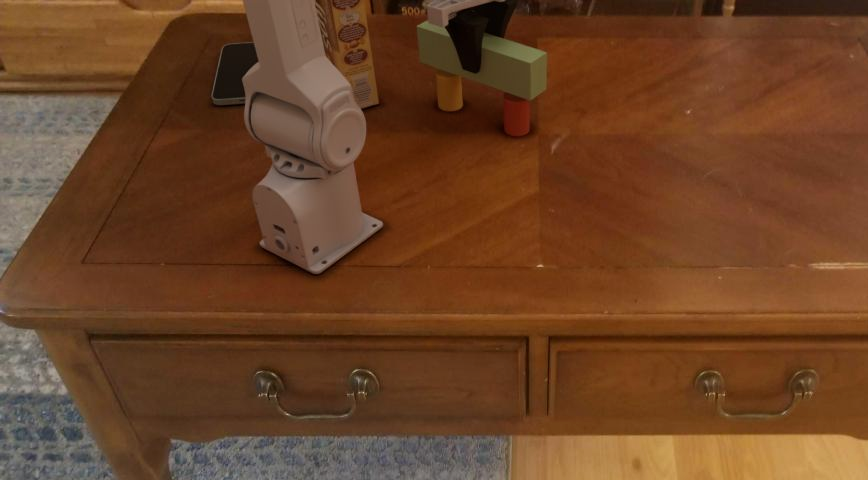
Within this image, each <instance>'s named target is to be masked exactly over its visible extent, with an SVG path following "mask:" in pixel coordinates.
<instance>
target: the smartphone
mask: <svg viewBox="0 0 868 480" xmlns="http://www.w3.org/2000/svg"><path fill="white" fill-rule="evenodd" d="M258 62H259V60H258V57H257V53H256V49H255V45H254V42H253V41H247V42H235V43H233V42H232V43H226V44H225V45H223V46H222V47H221V50H220V55H219V60H218V64H217V68H216V73H215V78H214V83H213V86H212V91H211V100H212V103H213V105H216V106H228V105H229V106H230V105H242V104H243V105H244V104H245V101H246V96H245V89H244V85H243V82H242V78H243V77H244V76H245V74H246V73H247V72H248V71H249V70H250V69H251V68H252V67H253V66H254V65H255V64H256V63H258Z"/></svg>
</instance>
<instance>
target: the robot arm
mask: <svg viewBox="0 0 868 480" xmlns="http://www.w3.org/2000/svg"><path fill="white" fill-rule="evenodd" d="M518 2H519V1H518V0H433V1H431V2H430V3H429V4H427V5H426V11H427V20H428V23H430V24H433V25H436V26H439V27H445V29H446V30H447V32H448V34H449V35H450V37H451V39H452V41H453V44H454V46H455V49H456V51H457V54H458V57H459V60H460V63H461V66H462V69H463V70H466V71H469V72H471V73H474V74H477V73H478V72H479V71H480V66H481V53H482V40H483V35H484V33H487V34H491V35H494V36H497V37H500V38H503V39H505V36H506V32H507V29H508V26H509V23H510V20H511V19H512V16H513V14H514V12H515V10H516V9H517V7H518V5H519V3H518ZM242 3H243V7H244V11H245V16H246V19H247V23H248V27H249V30H250V34H251V38H252V42H254V45H255V49H256V53H257V57H258V60H259V62H258V63H256V64H255V65H254V66H253V67H252V68H251V69H250V70H249V71H248V72H247V73H246V74H245V76H244V77H243V78H242V82H243V85H244V89H245V96H246V101H245V103H244V111H243V119H244V125H245V129H246V130H247V133H248V134H249V135H250V137H251V138H252V139H253V140H254V141H256V142H258V143H260V144H263V145H264V148H265V153H266V156H267V157H268V158H270V159H271V161H272V164H271V166H270V168H269V169H268V172H267V173H266V175H265V176H264V177H263V178H262V179H261V180H260V181H259V182H258V183H257V184H256V185H255V186H254V187H253V189H252V193H251V196H252V197H251V198H252V203H253V207H254V210H255V214H256V218H257V221H258V225H259V228H260V232H261V236H262V239H261V240H260V241H259V246H260V248H262V249H264V250H266V251H267V252H270V253H272V254H274V255H276V256H278V257H280V258H282V259H284V260H286V261H288V262H290V263H291V264H294V265H296V266H298V267H300V268H302V269H303V270H305V271H307V272H309V273H311V274H313V275H320V274H321V273H323V272H324V271H325V270H326V269H328V268H330V267H331V266H332V265H333V264H335V263H336V262H338V261H339V260H340V259H342V258H343V257H344V256H345V255H347V254H349V253H350V252H351V251H352V250H354V249H355V248H356V247H358V246H359V245H361V244H362V243H363V242H365V241H366V240H368V239H369V238H370V237H372V235H374V234H376V232H378V231H380V230H381V229H382V228H383V227H384V223H383V221H382V220H381V219H378V218H375V217H373V216H371V215H369V214H366V213H364V212H363V211H362V210H363V209H362V204H361V198H360V192H359V186H358V181H357V175H356V168H355V163H354V162H355V161H356V160H357V159H358V158H359V155H360V154H361V152H362V150H363V148H364V145H365V143H366V138H367V121H366V117H365V114H364V112H363V110H362V109H360V107H359V106H358V105H357V104H356V102H355V100H354V97H353V93H352V88H351V85H350V83H349V82H348V81H347V80H346V78H345V77H344V76H343V75H342V74H341V73H340V72H339V71H338V70H337V68H336V67H335V66H334V65H333V64H332V63H331V62H330V61H329V60H328V58H327V57H326V55H325V51H324V46H323V41H322V36H321V31H320V26H319V21H318V16H317V11H316V7H315V2H314V0H242Z"/></svg>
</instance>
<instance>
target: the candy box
mask: <svg viewBox="0 0 868 480" xmlns="http://www.w3.org/2000/svg"><path fill="white" fill-rule="evenodd" d="M314 2H315V7H316V11H317V16H318V21H319V26H320V31H321V36H322V41H323V46H324V51H325V55H326V57H327V58H328V60H329V61H330V62H331V63H332V64H333V65H334V66H335V67H336V68H337V70H338V71H339V72H340V73H341V74H342V75H343V76H344V77H345V78H346V80H347V81H348V82H349V83H350V85H351V88H352V93H353V97H354V100H355V102H356V104H357V105H358V106H359V107H360V109H361V110H362V109H365V108H366V109H367V108H369V107H372V106H376V105H379V103H380V99H379V94H378V93H379V92H378V87H377V81H376V80H377V79H376V73H375V66H374V59H373V53H372V47H371V40H370V33H369V32H370V31H369V27H368V25H369V24H368V19H367V18H368V17H367V12H366V5H365V0H314Z"/></svg>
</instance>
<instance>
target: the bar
mask: <svg viewBox="0 0 868 480" xmlns="http://www.w3.org/2000/svg"><path fill="white" fill-rule="evenodd" d="M416 35H417V45H418V56H419V63H421V64H423V65H424V64H425V65H427V66H430V67H433V68H436V69H441V70H444V71H447V72H450V73H452V74H455V75H458V76H461V78H464V79H467V80H470V81H473V82H476V83H479V84H482V85H484V86H487V87H490V88H493V89H496V90H498V91H501V92H504V93H505V92H507V93H510V94H513V95H516V96H519V97H522V98H524V99H527V100H530V102H531V101H532V100H534V99H535V98H536V97H538V96H539V95H540V94H542V93H543V92H545V91H546V90H547V85H548V83H547V82H548V81H547V77H548V76H547V75H548V72H547V70H548V52H547V51H544V50H541V49H538V48H534V47H532V46H528V45H525V44H523V43H518V42H516V41H513V40H509V39H506V38H504V39H503V38H500V37H497V36H494V35H491V34H487V33H484V35H483V40H482V53H481V66H480V71H479V72H478V73H477V74H474V73H471V72H469V71H466V70H463V69H462V66H461V63H460V60H459V57H458V54H457V51H456V49H455V46H454V44H453V41H452V39H451V37H450V35H449V34H448V32H447V30H446V29H445V27H439V26H436V25H433V24H430V23H428V19H427V20H425V21H423V22H421V23H420V24H417V25H416Z"/></svg>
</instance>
